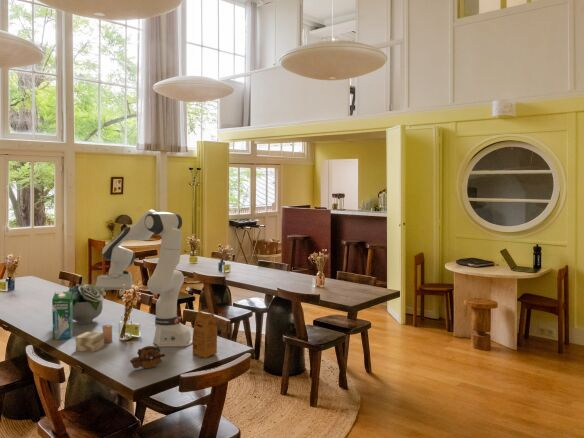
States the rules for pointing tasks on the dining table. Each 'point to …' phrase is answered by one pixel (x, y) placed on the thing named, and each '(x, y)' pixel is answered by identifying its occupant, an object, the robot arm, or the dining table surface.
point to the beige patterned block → (89, 341)
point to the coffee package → (204, 335)
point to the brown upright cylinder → (107, 333)
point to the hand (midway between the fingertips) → (112, 295)
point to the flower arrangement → (86, 303)
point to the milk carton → (62, 315)
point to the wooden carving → (147, 357)
